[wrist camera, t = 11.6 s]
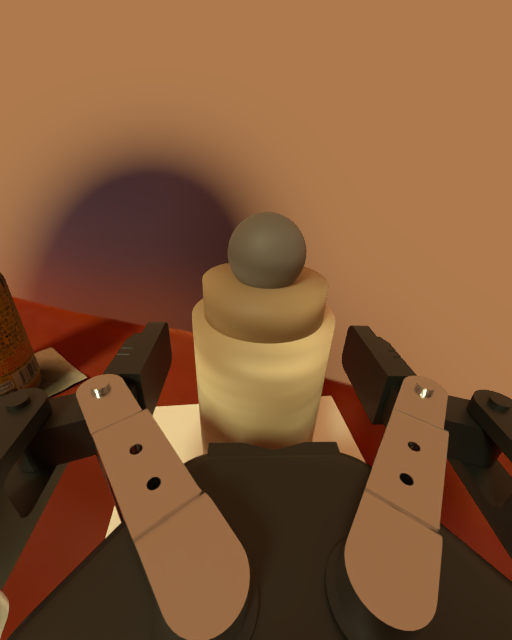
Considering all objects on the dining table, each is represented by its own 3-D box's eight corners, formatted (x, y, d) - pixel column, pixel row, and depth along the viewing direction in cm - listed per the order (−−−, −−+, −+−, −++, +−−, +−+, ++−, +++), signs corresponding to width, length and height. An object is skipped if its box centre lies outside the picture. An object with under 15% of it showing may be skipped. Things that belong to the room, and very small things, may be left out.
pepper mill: (287, 453, 17) (321, 204, 11) (310, 544, 13) (392, 230, 6) (207, 461, 17) (190, 201, 10) (206, 559, 13) (173, 227, 6)
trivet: (329, 403, 22) (331, 395, 22) (468, 685, 10) (477, 679, 10) (145, 415, 21) (143, 407, 20) (44, 780, 8) (35, 776, 8)
